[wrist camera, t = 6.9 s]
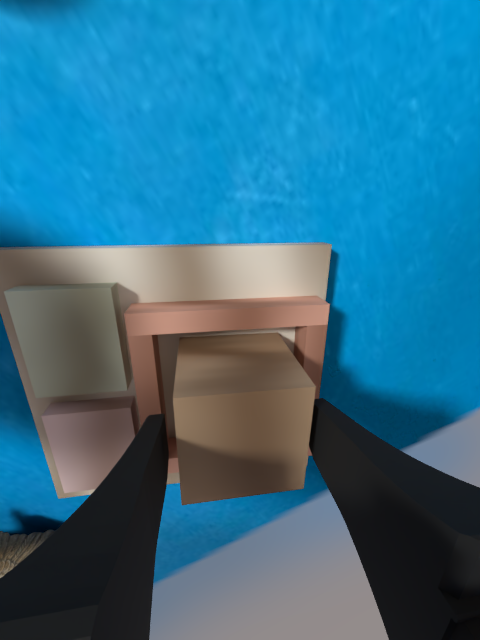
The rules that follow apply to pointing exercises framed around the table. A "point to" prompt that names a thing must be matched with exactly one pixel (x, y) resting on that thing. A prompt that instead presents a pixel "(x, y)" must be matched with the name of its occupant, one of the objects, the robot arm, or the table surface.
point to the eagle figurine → (18, 548)
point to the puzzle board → (143, 334)
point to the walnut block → (240, 416)
